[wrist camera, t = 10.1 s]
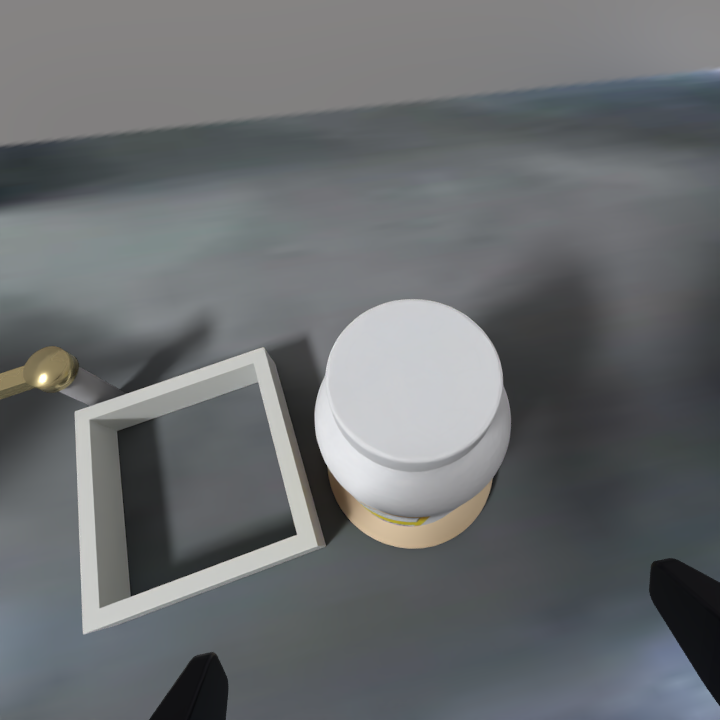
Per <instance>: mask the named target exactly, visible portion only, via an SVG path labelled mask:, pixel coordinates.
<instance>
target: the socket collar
mask: <svg viewBox="0 0 720 720" xmlns="http://www.w3.org/2000/svg"><path fill="white" fill-rule="evenodd" d="M257 382H259V386H260V390H261V394H262V398H263V402H264V406H265V410H266V414H267V418H268V422H269V426H270V430H271V434H272V438H273V441H274V445H275V449H276V453H277V457H278V461H279V465H280V469H281V473H282V477H283V481H284V485H285V489H286V493H287V497H288V501H289V505H290V509H291V513H292V516H293V520H294V524H295V528H296V532H297V535H295V536H292V537H290V538H287V539H284V540H282V541H279V542H276V543H273V544H271V545H268V546H265V547H263V548H260V549H257V550H255V551H252V552H249V553H247V554H244V555H241V556H239V557H236V558H233V559H231V560H228V561H225V562H223V563H220V564H217V565H215V566H212V567H209V568H207V569H204V570H201V571H199V572H196V573H193V574H190V575H188V576H185V577H182V578H180V579H177V580H174V581H172V582H169V583H166V584H164V585H161V586H158V587H156V588H153V589H150V590H148V591H145V592H142V593H140V594H137V595H134V596H132V597H131V593H130V581H129V569H128V557H127V545H126V533H125V521H124V509H123V497H122V485H121V473H120V461H119V449H118V437H117V431H119V430H122V429H124V428H127V427H130V426H133V425H136V424H139V423H142V422H145V421H148V420H150V419H153V418H156V417H159V416H162V415H165V414H168V413H171V412H173V411H176V410H179V409H182V408H185V407H188V406H191V405H194V404H197V403H199V402H202V401H205V400H208V399H211V398H214V397H217V396H220V395H222V394H225V393H228V392H231V391H234V390H237V389H240V388H243V387H246V386H248V385H251V384H254V383H257ZM59 392H61V393H63V394H65V395H68V396H70V397H72V398H74V399H76V400H78V401H81V402H83V403H85V404H87V405H89V406H90V407H87V408H84V409H81V410H78V411H75V432H76V458H77V485H78V511H79V538H80V565H81V591H82V618H83V634H86V633H90V632H94V631H97V630H101V629H105V628H108V627H112V626H116V625H119V624H121V623H124V622H127V621H129V620H132V619H135V618H137V617H140V616H143V615H145V614H148V613H150V612H153V611H156V610H158V609H161V608H164V607H166V606H169V605H172V604H174V603H177V602H180V601H182V600H185V599H188V598H190V597H193V596H196V595H198V594H201V593H204V592H206V591H209V590H212V589H214V588H217V587H219V586H222V585H225V584H227V583H230V582H233V581H235V580H238V579H241V578H243V577H246V576H249V575H251V574H254V573H257V572H259V571H262V570H265V569H267V568H270V567H273V566H275V565H278V564H280V563H283V562H286V561H288V560H291V559H294V558H296V557H299V556H302V555H304V554H307V553H310V552H312V551H315V550H318V549H320V548H323V547H326V544H325V540H324V537H323V533H322V529H321V526H320V522H319V519H318V515H317V511H316V508H315V504H314V501H313V497H312V494H311V490H310V486H309V483H308V479H307V476H306V472H305V468H304V465H303V461H302V458H301V454H300V451H299V447H298V443H297V440H296V436H295V433H294V429H293V425H292V422H291V418H290V415H289V411H288V407H287V404H286V400H285V397H284V393H283V390H282V386H281V382H280V379H279V375H278V372H277V368H276V364H275V363H274V361H273V360H272V358H271V357H270V355H269V354H268V352H267V351H266V349H265V348H264V347H262V348H259V349H256V350H253V351H251V352H248V353H245V354H242V355H239V356H236V357H233V358H230V359H227V360H224V361H221V362H218V363H215V364H212V365H210V366H207V367H204V368H201V369H198V370H195V371H192V372H189V373H186V374H183V375H180V376H177V377H174V378H171V379H169V380H166V381H163V382H160V383H157V384H154V385H151V386H148V387H145V388H142V389H139V390H136V391H133V392H130V393H128V394H127V393H125V392H123V391H122V390H120V389H118V388H116V387H114V386H113V385H111V384H109V383H107V382H106V381H104V380H102V379H100V378H99V377H97V376H95V375H93V374H92V373H90V372H88V371H86V370H85V369H83V368H81V367H79V371H78V374H77V376H76V378H75V379H74V381H73V382H72V383H71V384H70V385H69V386H68V387H66V388H65V389H63V390H61V391H59Z"/></svg>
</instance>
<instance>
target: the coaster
mask: <svg viewBox="0 0 720 720" xmlns="http://www.w3.org/2000/svg"><path fill="white" fill-rule="evenodd" d="M327 468H328V466H327ZM328 476H329V481H330V485H331V488H332V491H333V494H334V496H335V499H336V501H337V502H338V504H339V506H340V508H341V509H342V511H343V512H344V513H345V515H346V516H347V517H348V519H349V520H350V521H351V522H352V523H353V524H354V525H355V526H356V527H357V528H359V529H360V530H361V531H363V532H364V533H365V534H367V535H368V536H370V537H372V538H374V539H375V540H378V541H380V542H382V543H385V544H388V545H391V546H395V547H401V548H425V547H431V546H435V545H438V544H441V543H444V542H446V541H448V540H450V539H452V538H454V537H456V536H457V535H458V534H460V533H461V532H463V531H464V530H465V529H466V528H467V527H468V526H469V525H470V524H471V523H472V522H473V521H474V520H475V519H476V517H477V516H478V515H479V514H480V512H481V510H482V508H483V507H484V505H485V503H486V500H487V498H488V495H489V493H490V489H491V485H492V479H493V478H492V479H491V481H490V482H489V483H488V484H487V485H486V486H485V487H484V488H483V489H482V490H481V491H480V492H479V493H478V494H477V495H476V496H474V497H473V498H472V499H470V500H469V501H467V502H466V503H464V504H462V505H461V506H459V507H458V508H456V509H455V510H453V511H452V512H451V513H449V514H448V515H446V516H445V517H443V518H441V519H440V520H437V521H435V522H433V523H430V524H426V525H422V526H414V527H407V526H399V525H395V524H391V523H388V522H385V521H383V520H381V519H379V518H377V517H376V516H374V515H373V514H371V513H370V512H369V511H367V510H366V509H365V508H364V507H363V506H362V505H361V504H360V503H359V502H358V501H357V500H356V499H355V498H354V497H353V496H352V495H351V494H350V493H349V492H348V491H346V490H345V489H344V488H343V487H342V486H341V485H340V483H339V482H338V481H337V480H336V478H335V477H334V476H333V474H332V473H331V471H330V470H329V468H328Z"/></svg>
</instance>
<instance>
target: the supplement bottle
mask: <svg viewBox="0 0 720 720" xmlns="http://www.w3.org/2000/svg"><path fill="white" fill-rule="evenodd" d="M315 432H316V438H317V441H318V445H319V448H320V451H321V453H322V456H323V458H324V461H325V463H326V465H327V466H328V468H329V470H330V471H331V473H332V474H333V476H334V477H335V478H336V480H337V481H338V482H339V483H340V485H341V486H342V487H343V488H344V489H345V490H346V491H348V492H349V493H350V494H351V495H352V496H353V497H354V498H355V499H356V500H357V501H358V502H359V503H360V504H361V505H362V506H363V507H364V508H365V509H366V510H367V511H369V512H370V513H371V514H373V515H374V516H376V517H377V518H379V519H381V520H383V521H385V522H388V523H391V524H395V525H399V526H407V527H414V526H422V525H426V524H430V523H433V522H435V521H437V520H440V519H441V518H443V517H445V516H446V515H448V514H449V513H451V512H452V511H453V510H455V509H456V508H458V507H459V506H461V505H462V504H464V503H466V502H467V501H469V500H470V499H472V498H473V497H474V496H476V495H477V494H478V493H479V492H480V491H481V490H482V489H483V488H484V487H485V486H486V485H487V484H488V483H489V482H490V481H491V479H492V478H493V477H494V475H495V474H496V472H497V471H498V469H499V467H500V465H501V463H502V461H503V459H504V456H505V454H506V451H507V448H508V444H509V439H510V432H511V413H510V406H509V401H508V397H507V394H506V391H505V388H504V386H503V372H502V367H501V362H500V359H499V356H498V353H497V351H496V349H495V347H494V345H493V343H492V342H491V340H490V339H489V337H488V336H487V335H486V333H485V332H484V331H483V330H482V329H481V328H480V327H479V326H478V325H477V324H476V323H475V322H474V321H473V320H471V319H470V318H469V317H468V316H466V315H465V314H463V313H462V312H460V311H458V310H456V309H454V308H452V307H450V306H448V305H444V304H442V303H438V302H435V301H429V300H421V299H403V300H396V301H392V302H387V303H384V304H381V305H378V306H376V307H374V308H372V309H370V310H368V311H366V312H364V313H363V314H361V315H360V316H358V317H357V318H356V319H355V320H353V321H352V322H351V323H350V324H349V325H348V326H347V327H346V328H345V329H344V330H343V332H342V333H341V334H340V335H339V337H338V339H337V340H336V342H335V344H334V346H333V348H332V350H331V353H330V355H329V358H328V363H327V367H326V375H325V377H324V379H323V381H322V384H321V386H320V389H319V392H318V396H317V400H316V405H315Z"/></svg>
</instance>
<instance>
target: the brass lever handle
mask: <svg viewBox="0 0 720 720" xmlns="http://www.w3.org/2000/svg"><path fill="white" fill-rule="evenodd" d="M78 371H79V363H78V360H77V359H76V358H75V357H74V356H73V355H71V354H69V353H68V352H66V351H64V350H62V349H61V348H59V347H55V346H50V347H45V348H42V349H40V350H38V351H37V352H35V353H34V354H33V355H32V356H31V357H30V358H29V359H28V361H27V362H26V364H25V366H22V367H19V368H16V369H13V370H10V371H7V372H4V373H1V374H0V400H1V399H4V398H6V397H9V396H12V395H15V394H18V393H21V392H24V391H27V390H30V389H33V388H38V389H40V390H42V391H45V392H48V393H55V392H59V391H61V390H63V389H65V388H66V387H68V386H69V385H70V384H71V383H72V382H73V381H74V379H75V378H76V376H77V374H78Z"/></svg>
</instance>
